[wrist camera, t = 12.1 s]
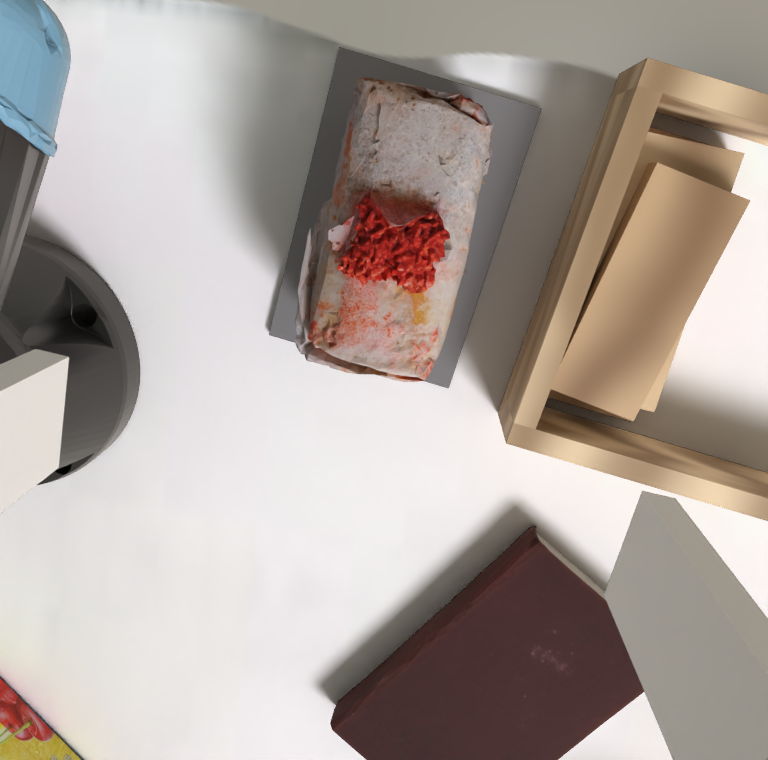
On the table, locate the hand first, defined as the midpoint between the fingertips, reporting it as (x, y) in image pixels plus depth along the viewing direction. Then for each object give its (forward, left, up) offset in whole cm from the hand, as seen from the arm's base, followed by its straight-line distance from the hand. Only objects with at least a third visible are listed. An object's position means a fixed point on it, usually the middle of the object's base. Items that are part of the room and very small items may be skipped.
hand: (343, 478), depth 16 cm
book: (+13, -23, -26) cm, 37 cm away
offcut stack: (+12, +5, -25) cm, 28 cm away
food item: (-1, +4, -25) cm, 25 cm away
